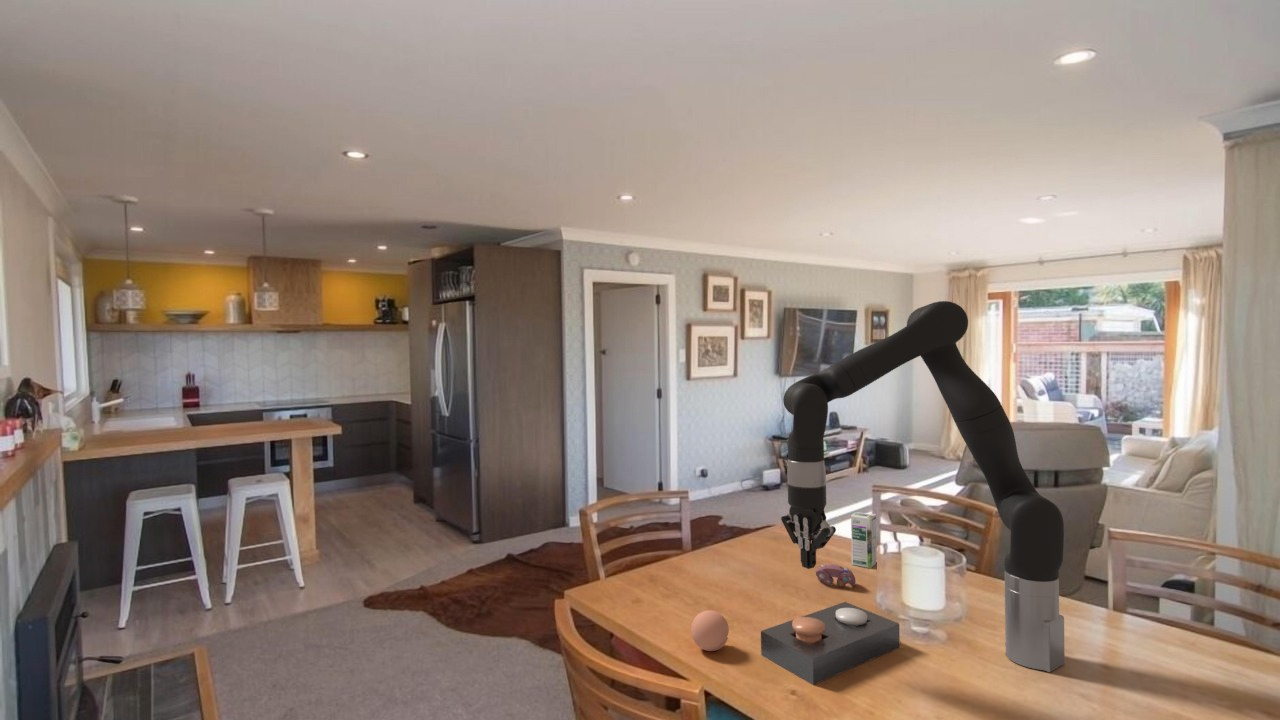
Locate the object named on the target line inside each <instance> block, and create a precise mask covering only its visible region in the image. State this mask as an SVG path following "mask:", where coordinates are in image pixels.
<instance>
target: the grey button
mask: <svg viewBox="0 0 1280 720" xmlns="http://www.w3.org/2000/svg"><path fill="white" fill-rule="evenodd" d="M836 619H837V620H838V621H840V622H842V623H844V624H846V625H849V626H851V627H853V628H854V627H856V626H859V625H862V624H865V623H866V622H867V614H866V613H865V612H864V611H861V610H859V609H855V608H841V609H838V610H836Z"/></svg>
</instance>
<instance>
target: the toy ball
mask: <svg viewBox="0 0 1280 720" xmlns="http://www.w3.org/2000/svg"><path fill="white" fill-rule="evenodd" d="M690 630H691V637H692V639H693V641H694V643H695V644H696V645H697V646H698V648H700V649H702V650H704V651H706V652H714V651H717V650H720V649H721V648H723V647H724V646H725V644H726V643H727V641H728V639H729V637H728V636H729V630H730V628H729V623H728V621H727V620H726V618H725V617H724V615H722V614H721V613H719V612H718V611H715V610H708V609H707V610H703V611H701V612H699V613H698V614H696V616H695V617H694V618H693V620H692V624H691V629H690Z"/></svg>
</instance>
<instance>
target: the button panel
mask: <svg viewBox="0 0 1280 720" xmlns="http://www.w3.org/2000/svg"><path fill="white" fill-rule="evenodd" d="M841 608H855V609H859V610H861V611H864V612H865V613H866V614H867V622H866V623H865V624H862V625H859V626H856V627H854V628H853V627H851V626H849V625H846V624H844V623H842V622H840V621H838V620H837V619H836V610H838V609H841ZM802 617H811V618H815V619H818V620H821V621H822V622H823V623H824V624H825V632H824V633H823V634H822V640H820V641H817V642H815V643H812V644H808V643H806V642H804V641H802V640H800V639H798V638H796V632H795V631H794V630H793V628H792V622H793V620H794V619H791V620H788V621H786V622H783V623H779V624H777V625H775V626H771V627H769V628H765V629H762V630H761V631H760V650H761V651H760V655H761V656H762V657H764V658H765V659H768V660H769V661H771V662H773V663H774V664H776V665H778V666H779V667H781V668H783V669H785V670H786V671H788V672H790V673H791V674H794V675H796V676H797V677H799V678H801V679H802V680H804V681H805V682H807V683H809V684H811V685H813V686H814V685H816V684H818V683H821V682H823V681H826V680H828V679H831V678H832V677H834V676H837V675H839V674H841V673H844V672H846V671H848V670H851V669H854V668H855V667H857V666H860V665H863V664H864V663H865V664H866V663H867V662H869V661H872V660H873V659H876V658H878V657H882V656H883V655H885V654H887V653H890V652H892V651H895V650H896V649H899V648H900V647H901V646H900V643H901V641H900V640H901V639H900V638H901V637H900V623H899V622H896V621H894V620H892V619H889V618H886V617H884V616H882V615H879V614H877V613H874V612H872V611H869V610H866V609H864V608H861V607H860V606H859V607H858V606H857V605H854V604H852V603H849V602H847V601H843V602H840V603H838V604H835V605H832V606H829V607H826V608H823V609H820V610H817V611H814V612H811V613H809V614H806V615H804V616H802Z"/></svg>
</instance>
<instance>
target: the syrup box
mask: <svg viewBox="0 0 1280 720" xmlns="http://www.w3.org/2000/svg"><path fill="white" fill-rule="evenodd" d="M850 529H851V530H850V535H851V536H850V537H851V566H858V567H862V568H868V569H872V568H873V567H874V566H875V565H876V564H877V563H876V560H877V559H878V558H877V557H878V555H877V554H878V553H877V515H876V513H873V514H872V513H867V512H866V513H865V512H860V511H859V512H858V511H857V512H854V513H853V514H851V516H850ZM877 561H878V560H877Z"/></svg>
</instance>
